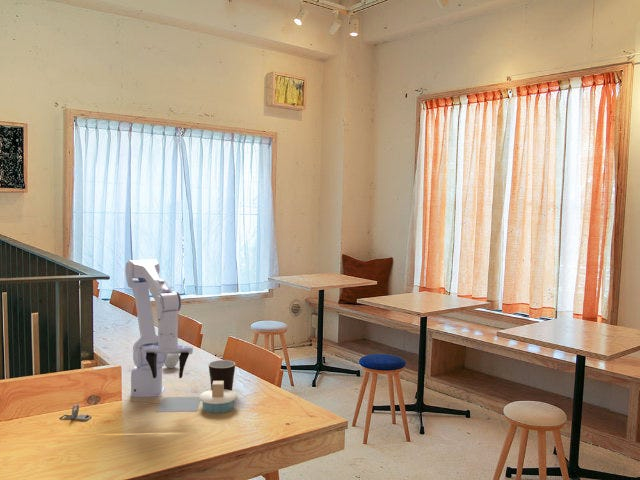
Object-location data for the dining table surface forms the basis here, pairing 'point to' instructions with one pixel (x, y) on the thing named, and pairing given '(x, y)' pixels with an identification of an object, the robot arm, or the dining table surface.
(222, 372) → the coffee mug
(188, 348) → the robot arm
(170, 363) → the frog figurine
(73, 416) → the strap clip
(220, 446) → the dining table surface
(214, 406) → the bowl
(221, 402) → the lid
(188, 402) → the mat
